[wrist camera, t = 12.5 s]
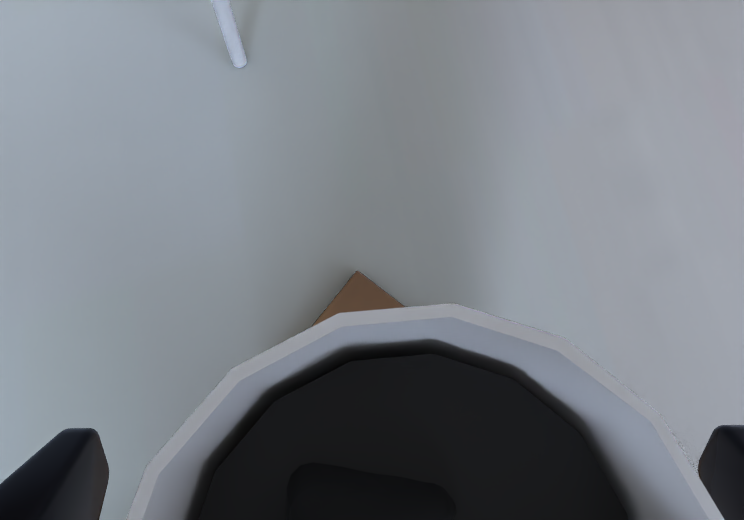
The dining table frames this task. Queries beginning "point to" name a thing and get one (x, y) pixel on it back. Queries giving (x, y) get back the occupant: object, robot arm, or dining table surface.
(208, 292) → the dining table surface
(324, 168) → the dining table surface
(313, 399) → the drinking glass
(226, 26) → the lollipop
